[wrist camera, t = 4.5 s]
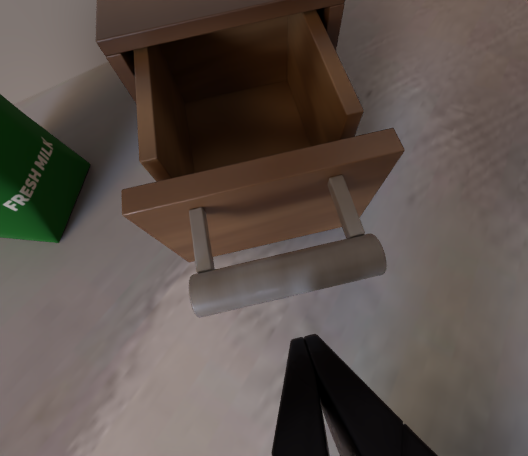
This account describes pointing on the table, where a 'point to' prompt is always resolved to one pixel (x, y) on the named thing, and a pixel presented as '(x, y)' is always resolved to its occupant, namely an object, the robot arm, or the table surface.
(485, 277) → the table surface
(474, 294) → the table surface
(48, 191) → the milk carton
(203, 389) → the table surface
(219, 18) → the cabinet
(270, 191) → the drawer
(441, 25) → the table surface
